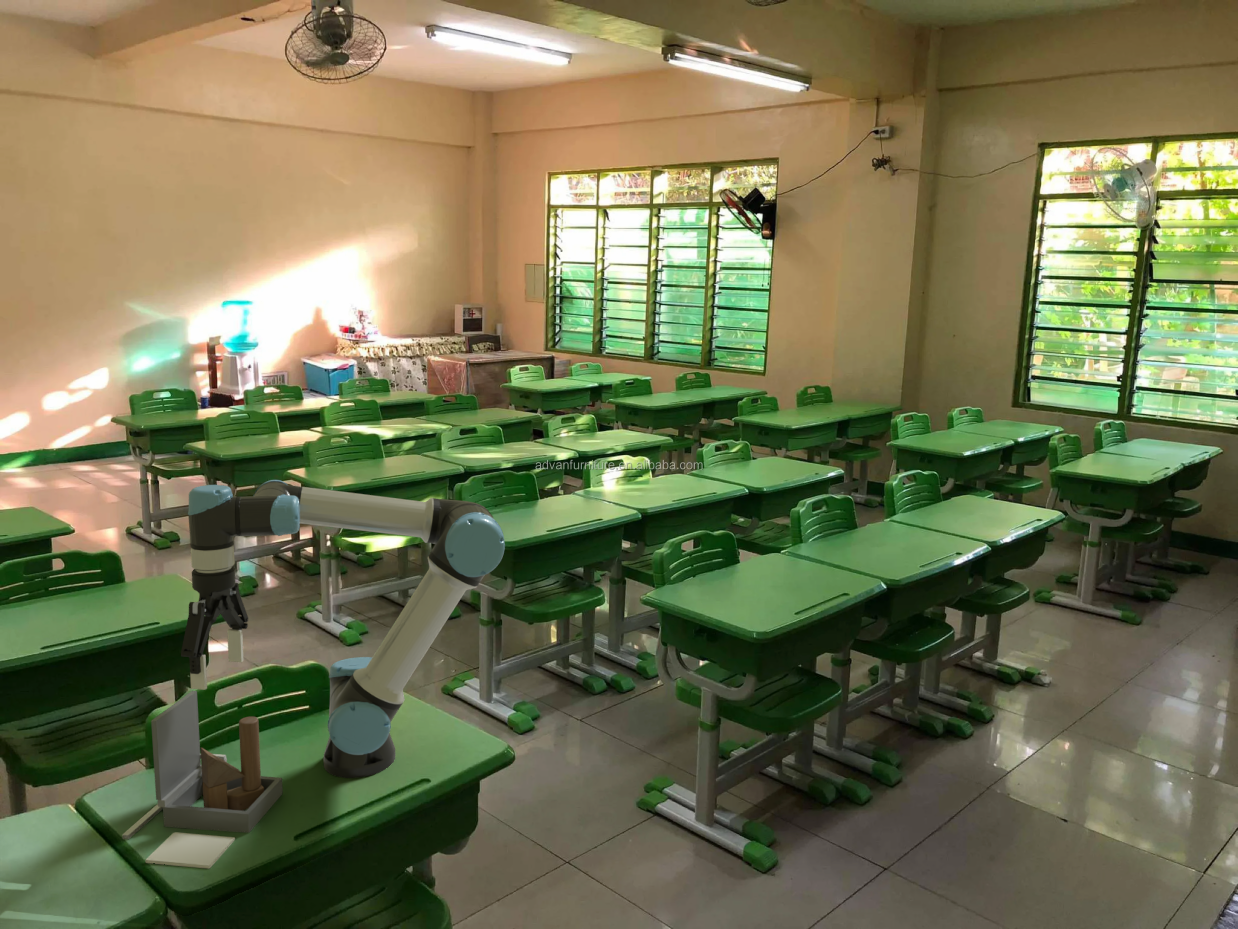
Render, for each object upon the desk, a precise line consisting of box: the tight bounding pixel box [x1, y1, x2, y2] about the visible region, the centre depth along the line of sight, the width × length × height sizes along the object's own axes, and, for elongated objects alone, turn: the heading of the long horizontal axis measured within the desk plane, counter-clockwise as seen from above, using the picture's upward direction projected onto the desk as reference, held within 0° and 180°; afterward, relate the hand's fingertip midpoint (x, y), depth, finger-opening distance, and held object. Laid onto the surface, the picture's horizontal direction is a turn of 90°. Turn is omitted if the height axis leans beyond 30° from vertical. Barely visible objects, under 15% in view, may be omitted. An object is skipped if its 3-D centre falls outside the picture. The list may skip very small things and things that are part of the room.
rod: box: [121, 803, 163, 840], centre depth 182 cm, size 12×1×1 cm, turn 173°
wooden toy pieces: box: [200, 716, 264, 811], centre depth 186 cm, size 4×11×18 cm, turn 132°
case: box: [150, 690, 284, 833], centre depth 186 cm, size 18×15×21 cm
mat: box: [145, 832, 236, 870], centre depth 173 cm, size 12×9×1 cm
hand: (218, 674), depth 182 cm, fingers open, 13 cm apart
